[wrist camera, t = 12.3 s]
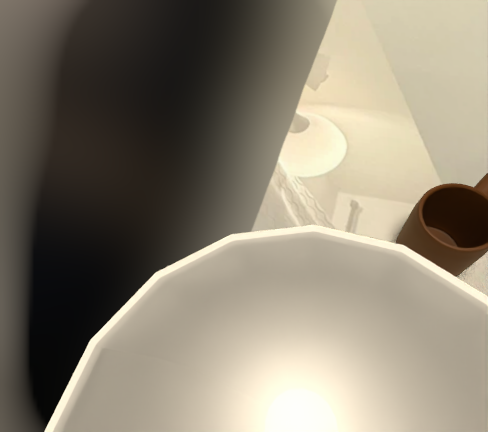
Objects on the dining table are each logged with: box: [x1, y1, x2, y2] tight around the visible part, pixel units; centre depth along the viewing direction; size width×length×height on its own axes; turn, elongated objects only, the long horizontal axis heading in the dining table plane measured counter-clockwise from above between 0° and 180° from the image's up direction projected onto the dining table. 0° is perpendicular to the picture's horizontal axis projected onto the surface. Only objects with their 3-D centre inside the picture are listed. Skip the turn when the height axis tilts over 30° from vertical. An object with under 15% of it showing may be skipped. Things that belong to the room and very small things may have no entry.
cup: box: [45, 225, 488, 432], centre depth 13 cm, size 7×7×21 cm
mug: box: [396, 173, 488, 277], centre depth 37 cm, size 12×8×9 cm, turn 132°
